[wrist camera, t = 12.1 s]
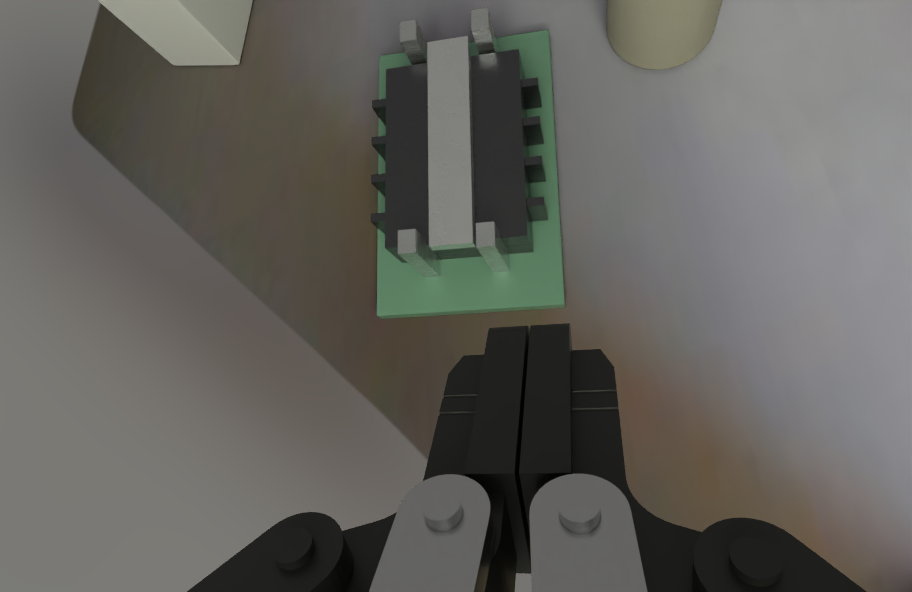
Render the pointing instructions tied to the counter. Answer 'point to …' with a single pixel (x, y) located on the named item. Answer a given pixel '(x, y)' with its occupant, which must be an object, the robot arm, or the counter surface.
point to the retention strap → (450, 145)
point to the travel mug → (660, 30)
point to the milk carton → (188, 28)
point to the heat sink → (494, 151)
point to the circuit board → (471, 278)
